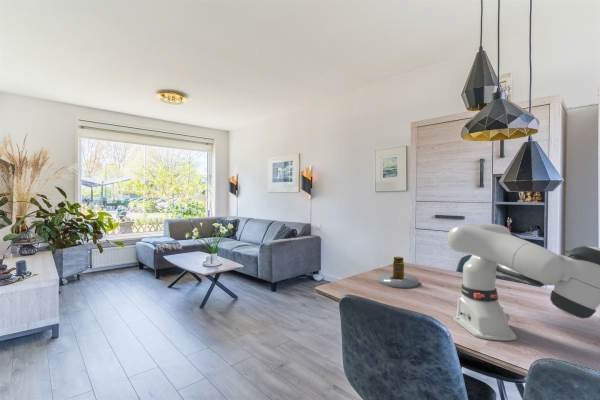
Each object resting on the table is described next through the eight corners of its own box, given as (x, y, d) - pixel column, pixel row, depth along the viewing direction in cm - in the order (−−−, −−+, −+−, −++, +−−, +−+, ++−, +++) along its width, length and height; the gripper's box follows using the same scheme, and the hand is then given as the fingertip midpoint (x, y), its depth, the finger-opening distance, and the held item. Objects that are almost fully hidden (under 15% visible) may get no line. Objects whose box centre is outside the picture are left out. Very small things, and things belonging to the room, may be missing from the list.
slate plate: (423, 288, 157) (423, 285, 157) (380, 287, 161) (380, 283, 161) (413, 277, 179) (413, 273, 179) (376, 275, 182) (376, 272, 182)
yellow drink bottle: (406, 277, 171) (406, 257, 171) (400, 281, 165) (400, 259, 164) (394, 275, 176) (394, 255, 175) (388, 278, 169) (388, 258, 169)
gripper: (509, 227, 135) (494, 224, 149) (462, 227, 138) (451, 224, 152) (509, 241, 135) (493, 236, 149) (461, 240, 138) (451, 236, 152)
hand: (472, 230), depth 150 cm, fingers open, 8 cm apart
